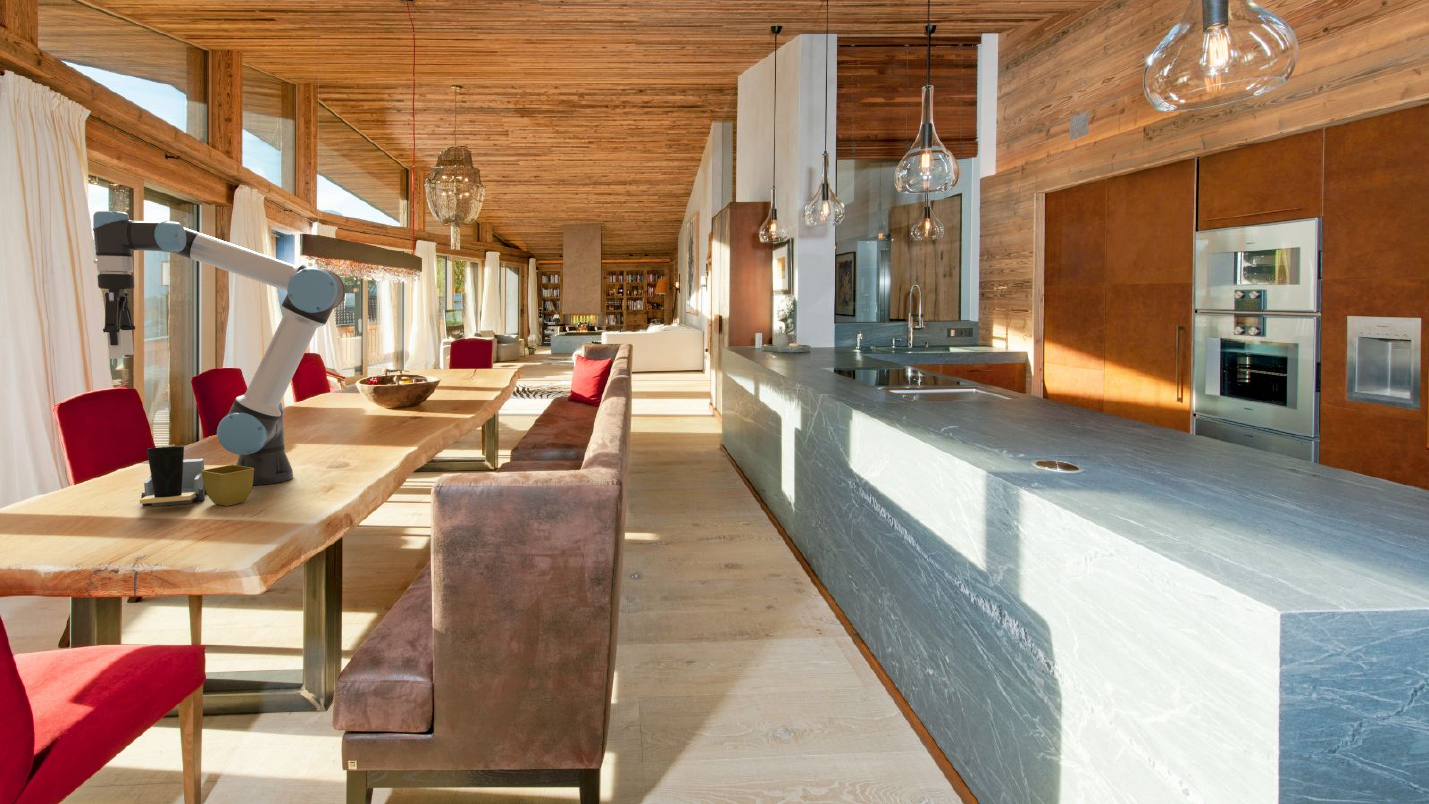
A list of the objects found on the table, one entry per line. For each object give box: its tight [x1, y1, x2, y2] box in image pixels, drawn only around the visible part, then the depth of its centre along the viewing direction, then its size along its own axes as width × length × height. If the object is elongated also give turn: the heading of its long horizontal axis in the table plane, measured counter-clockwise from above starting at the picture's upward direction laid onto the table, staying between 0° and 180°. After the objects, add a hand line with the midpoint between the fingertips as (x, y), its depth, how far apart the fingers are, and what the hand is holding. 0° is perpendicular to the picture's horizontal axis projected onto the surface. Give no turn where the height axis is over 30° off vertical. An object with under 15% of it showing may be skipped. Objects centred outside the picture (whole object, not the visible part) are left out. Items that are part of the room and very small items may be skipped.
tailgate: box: [139, 492, 197, 505], centre depth 205 cm, size 10×1×9 cm
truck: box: [140, 458, 207, 507], centre depth 215 cm, size 13×14×9 cm
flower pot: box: [201, 464, 254, 507], centre depth 211 cm, size 9×9×9 cm
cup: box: [146, 445, 185, 497], centre depth 204 cm, size 8×8×12 cm
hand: (121, 356), depth 214 cm, fingers open, 13 cm apart
